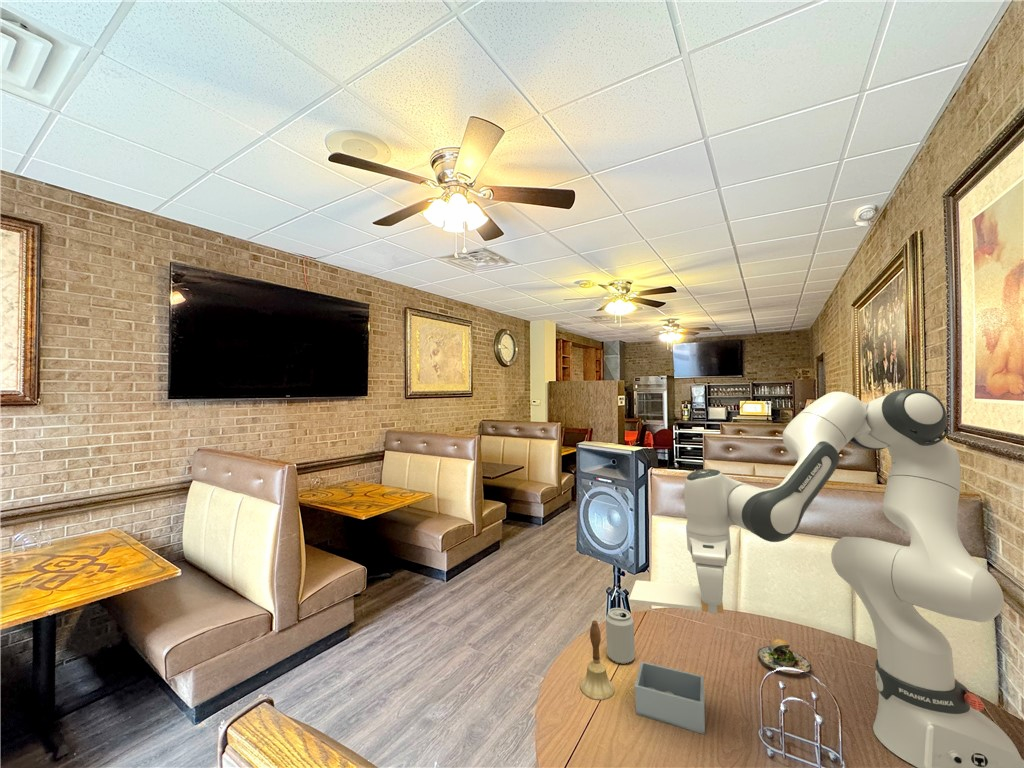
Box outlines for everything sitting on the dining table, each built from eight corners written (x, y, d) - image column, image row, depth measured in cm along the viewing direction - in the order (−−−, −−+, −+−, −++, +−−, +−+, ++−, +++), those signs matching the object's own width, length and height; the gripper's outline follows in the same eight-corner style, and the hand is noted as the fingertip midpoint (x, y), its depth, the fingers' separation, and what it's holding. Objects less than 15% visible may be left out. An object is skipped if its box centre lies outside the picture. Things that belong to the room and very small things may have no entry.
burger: (760, 673, 104) (758, 643, 104) (755, 648, 115) (753, 621, 115) (817, 685, 99) (815, 654, 99) (806, 658, 110) (804, 630, 110)
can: (636, 667, 107) (634, 620, 108) (607, 664, 108) (605, 618, 109) (633, 650, 114) (632, 607, 115) (606, 648, 116) (605, 605, 117)
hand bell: (617, 701, 95) (614, 630, 96) (581, 699, 95) (579, 629, 97) (611, 678, 103) (609, 613, 104) (579, 676, 104) (577, 612, 105)
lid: (722, 598, 94) (720, 587, 94) (724, 622, 84) (723, 609, 84) (637, 590, 102) (636, 580, 102) (630, 610, 92) (628, 599, 92)
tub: (704, 703, 93) (703, 676, 94) (704, 734, 84) (703, 704, 85) (642, 686, 99) (641, 661, 100) (635, 714, 90) (634, 686, 91)
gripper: (693, 528, 101) (697, 585, 100) (691, 557, 83) (696, 627, 82) (722, 531, 98) (726, 589, 97) (726, 561, 80) (731, 633, 79)
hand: (712, 606), depth 89 cm, fingers closed on lid, 3 cm apart
